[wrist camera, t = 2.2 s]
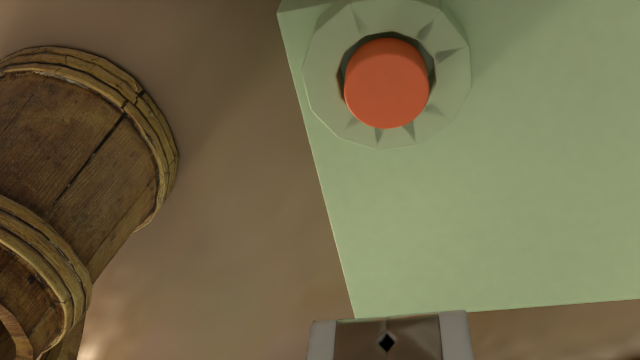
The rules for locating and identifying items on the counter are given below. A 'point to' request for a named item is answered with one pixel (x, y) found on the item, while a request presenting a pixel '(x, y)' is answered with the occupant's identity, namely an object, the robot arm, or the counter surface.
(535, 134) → the scale
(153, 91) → the counter surface
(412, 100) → the button
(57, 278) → the wooden mug
